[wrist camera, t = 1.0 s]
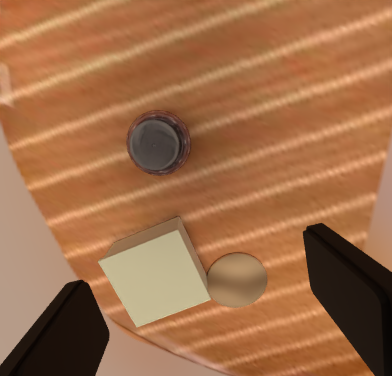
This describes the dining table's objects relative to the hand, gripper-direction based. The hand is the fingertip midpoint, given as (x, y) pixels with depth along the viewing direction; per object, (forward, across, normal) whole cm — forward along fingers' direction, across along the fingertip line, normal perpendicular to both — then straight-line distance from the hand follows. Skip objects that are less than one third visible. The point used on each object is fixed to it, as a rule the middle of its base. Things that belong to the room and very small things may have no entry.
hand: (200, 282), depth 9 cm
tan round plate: (+21, -2, +17) cm, 27 cm away
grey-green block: (+21, +8, +10) cm, 24 cm away
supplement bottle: (+21, +2, -6) cm, 22 cm away
